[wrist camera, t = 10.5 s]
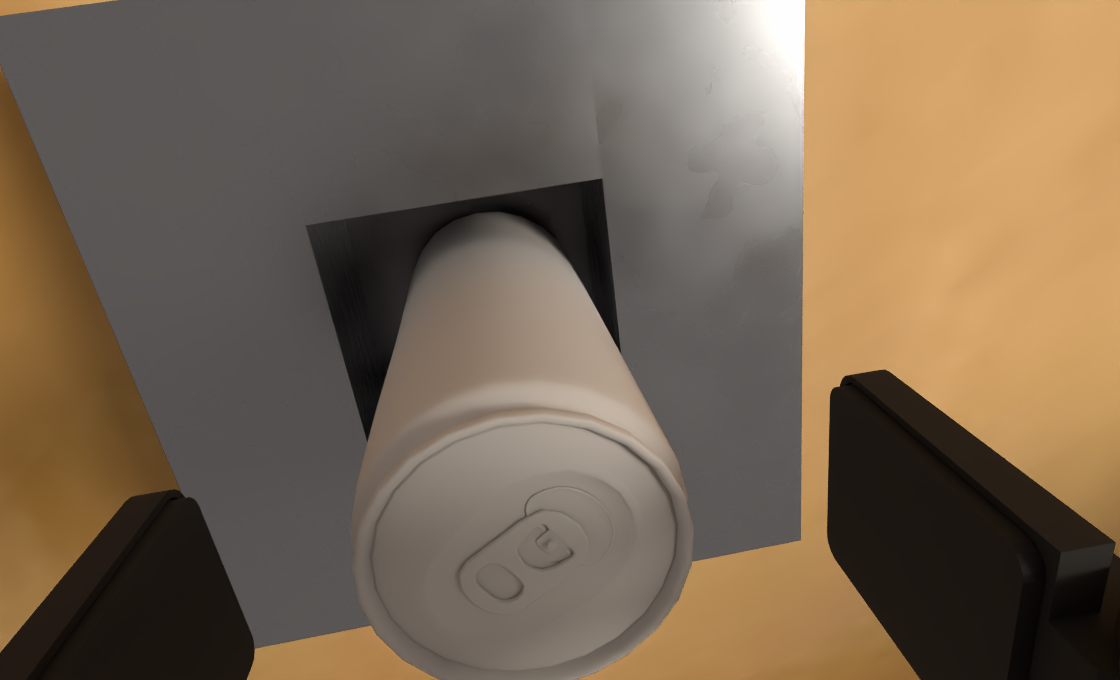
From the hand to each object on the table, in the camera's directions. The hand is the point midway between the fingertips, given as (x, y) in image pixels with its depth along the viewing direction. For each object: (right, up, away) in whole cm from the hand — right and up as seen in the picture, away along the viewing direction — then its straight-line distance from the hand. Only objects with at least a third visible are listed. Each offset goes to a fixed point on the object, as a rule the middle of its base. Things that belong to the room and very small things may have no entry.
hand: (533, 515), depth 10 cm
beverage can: (-2, +4, +10) cm, 11 cm away
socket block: (-2, +4, +11) cm, 12 cm away
